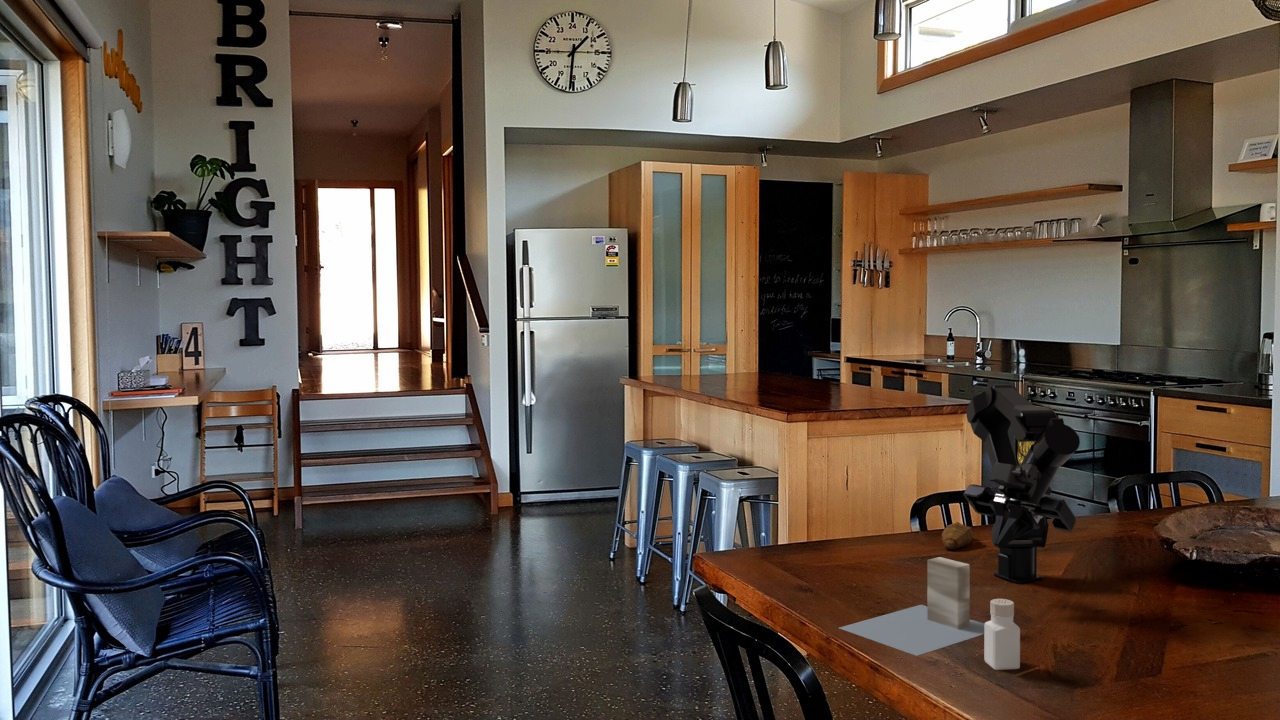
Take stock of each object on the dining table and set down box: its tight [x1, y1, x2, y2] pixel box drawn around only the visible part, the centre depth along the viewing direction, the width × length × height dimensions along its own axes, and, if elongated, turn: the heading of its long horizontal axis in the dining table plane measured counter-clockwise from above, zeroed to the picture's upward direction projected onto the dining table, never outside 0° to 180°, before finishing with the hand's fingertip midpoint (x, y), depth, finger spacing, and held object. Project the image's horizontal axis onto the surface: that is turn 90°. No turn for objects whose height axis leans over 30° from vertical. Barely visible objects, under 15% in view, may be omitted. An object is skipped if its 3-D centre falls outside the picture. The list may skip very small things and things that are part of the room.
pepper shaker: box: [983, 598, 1021, 671], centre depth 146 cm, size 4×4×10 cm
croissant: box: [941, 521, 975, 551], centre depth 217 cm, size 14×7×5 cm, turn 148°
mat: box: [838, 604, 985, 657], centre depth 163 cm, size 20×16×1 cm
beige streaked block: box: [926, 556, 971, 629], centre depth 165 cm, size 3×6×10 cm, turn 35°
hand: (996, 546), depth 171 cm, fingers closed
